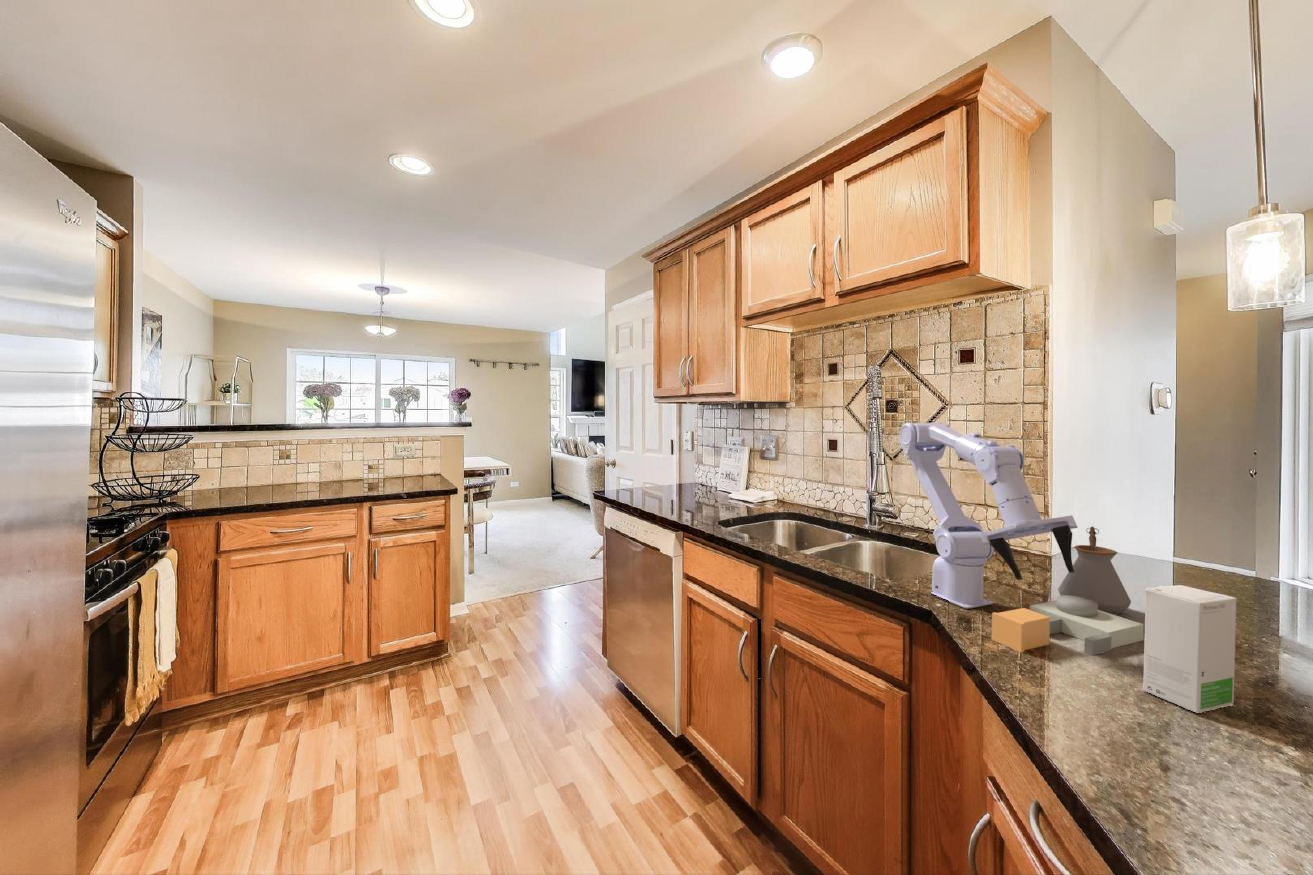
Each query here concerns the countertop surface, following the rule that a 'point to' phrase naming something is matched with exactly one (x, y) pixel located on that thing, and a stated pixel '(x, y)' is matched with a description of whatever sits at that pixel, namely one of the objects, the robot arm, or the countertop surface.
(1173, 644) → the skincare box
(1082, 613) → the grey stand
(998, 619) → the orange lidded tapered block
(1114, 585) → the grey faceted tapered shape
